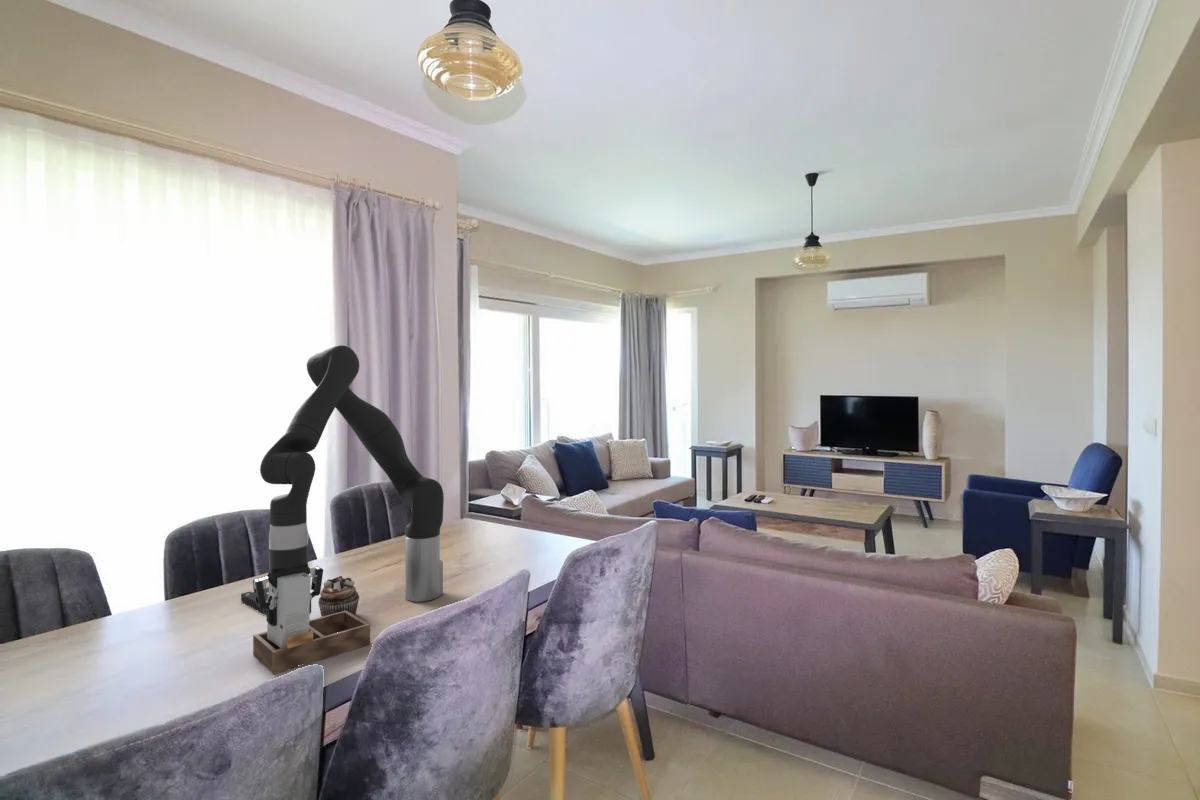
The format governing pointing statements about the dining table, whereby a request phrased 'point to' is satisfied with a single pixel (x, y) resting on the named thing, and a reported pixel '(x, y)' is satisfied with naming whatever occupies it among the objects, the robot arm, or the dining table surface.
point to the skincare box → (290, 608)
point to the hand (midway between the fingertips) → (289, 620)
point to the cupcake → (338, 596)
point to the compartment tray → (313, 642)
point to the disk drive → (250, 599)
